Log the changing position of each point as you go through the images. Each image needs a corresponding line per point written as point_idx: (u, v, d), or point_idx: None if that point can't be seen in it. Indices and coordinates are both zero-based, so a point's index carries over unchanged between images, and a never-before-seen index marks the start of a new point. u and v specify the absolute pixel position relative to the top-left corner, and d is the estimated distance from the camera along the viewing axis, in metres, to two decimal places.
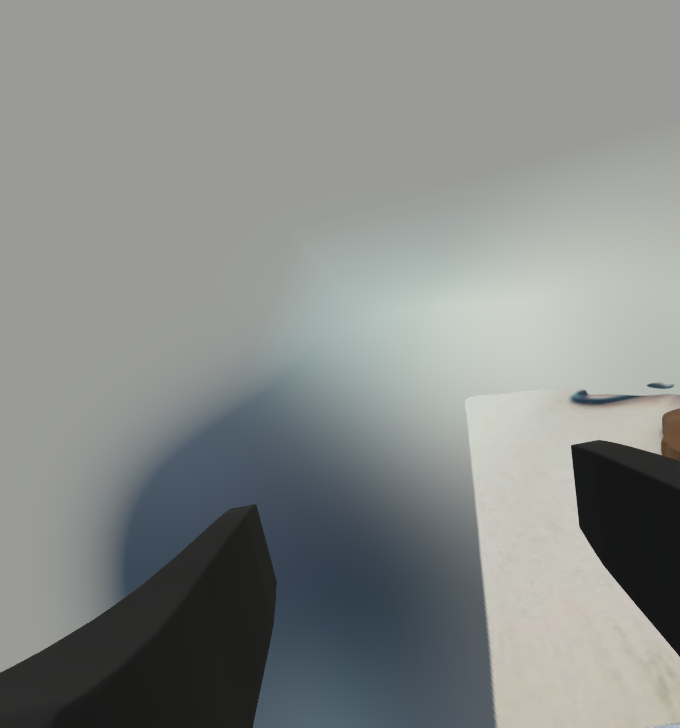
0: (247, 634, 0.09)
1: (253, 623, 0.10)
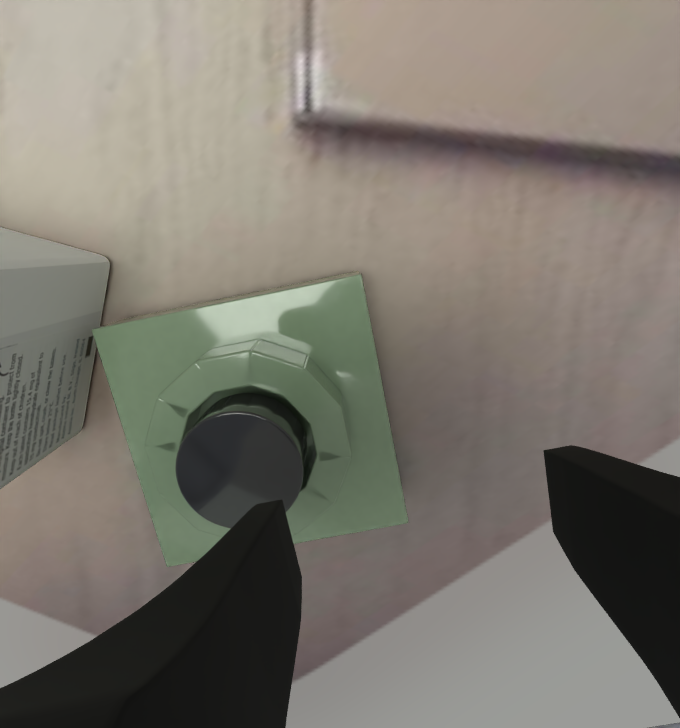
0: (279, 628, 0.09)
1: (283, 618, 0.10)
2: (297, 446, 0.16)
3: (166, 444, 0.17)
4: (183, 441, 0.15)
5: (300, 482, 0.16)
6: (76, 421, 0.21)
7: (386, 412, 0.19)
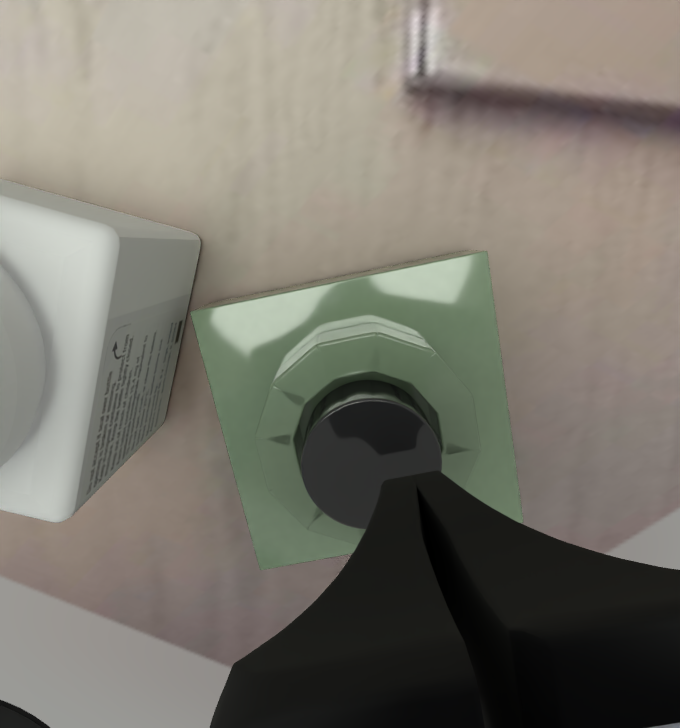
0: None
1: None
2: (436, 437, 0.14)
3: (279, 436, 0.16)
4: (312, 432, 0.14)
5: None
6: (161, 413, 0.19)
7: (506, 402, 0.18)
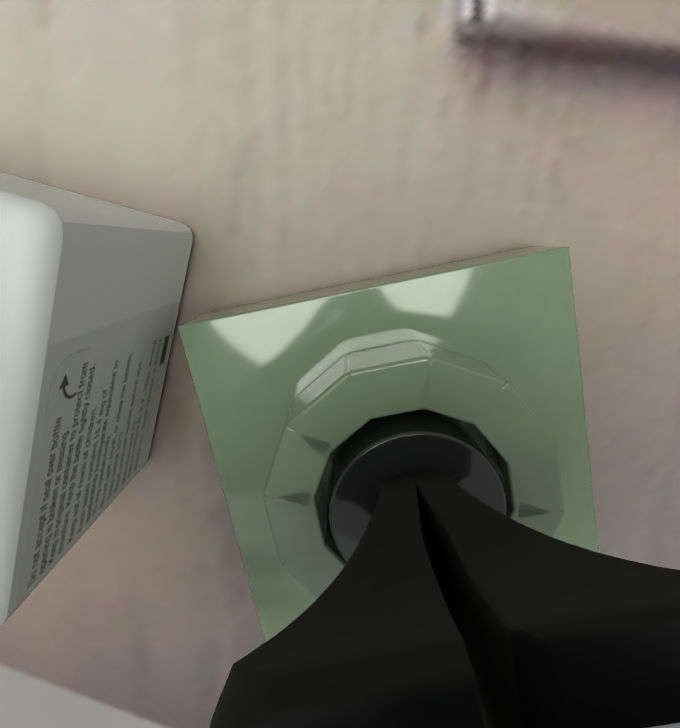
0: None
1: None
2: (500, 480, 0.11)
3: (296, 494, 0.12)
4: (343, 473, 0.11)
5: None
6: (143, 451, 0.15)
7: (586, 442, 0.14)
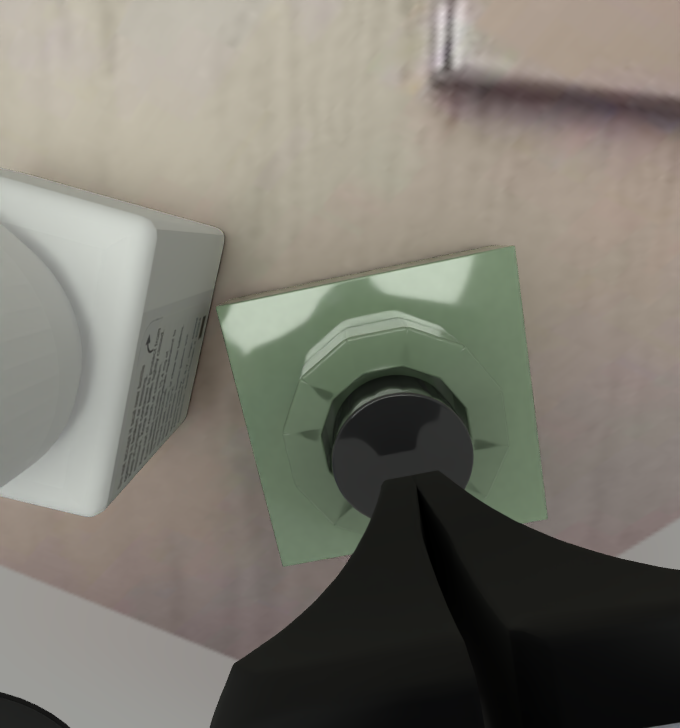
0: None
1: None
2: (468, 432, 0.14)
3: (307, 431, 0.16)
4: (343, 426, 0.14)
5: (470, 472, 0.14)
6: (184, 409, 0.19)
7: (532, 398, 0.18)
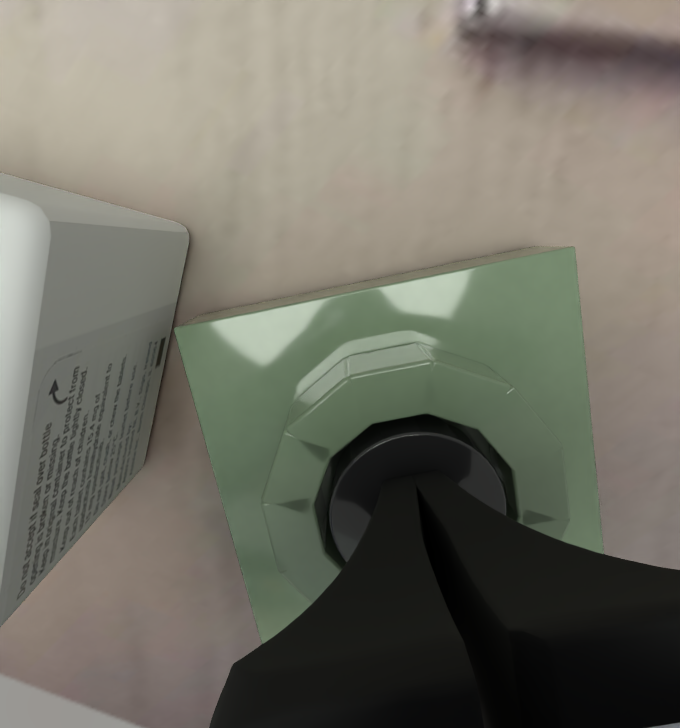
0: None
1: None
2: (500, 480, 0.11)
3: (294, 501, 0.11)
4: (343, 473, 0.11)
5: None
6: (139, 456, 0.15)
7: (592, 447, 0.13)
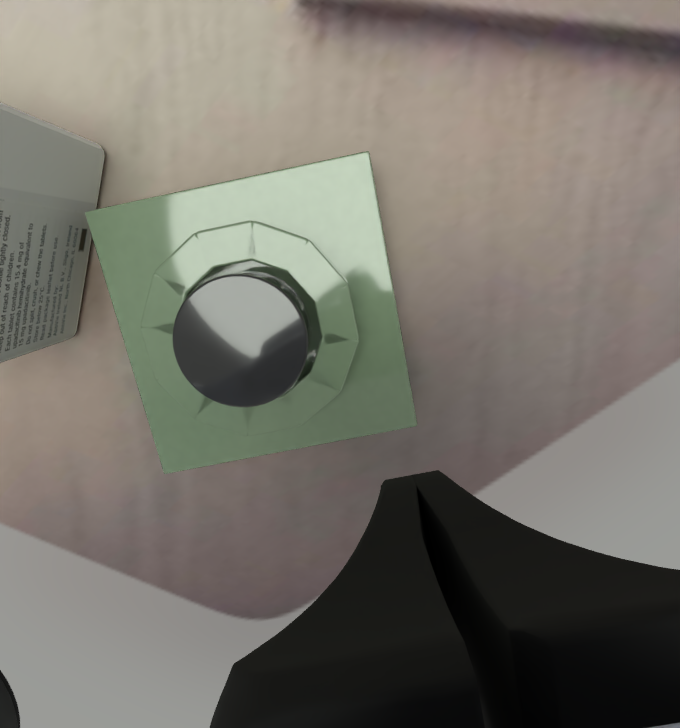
0: None
1: None
2: (302, 315, 0.15)
3: (163, 325, 0.16)
4: (181, 308, 0.15)
5: (305, 354, 0.15)
6: (69, 321, 0.20)
7: (394, 304, 0.18)
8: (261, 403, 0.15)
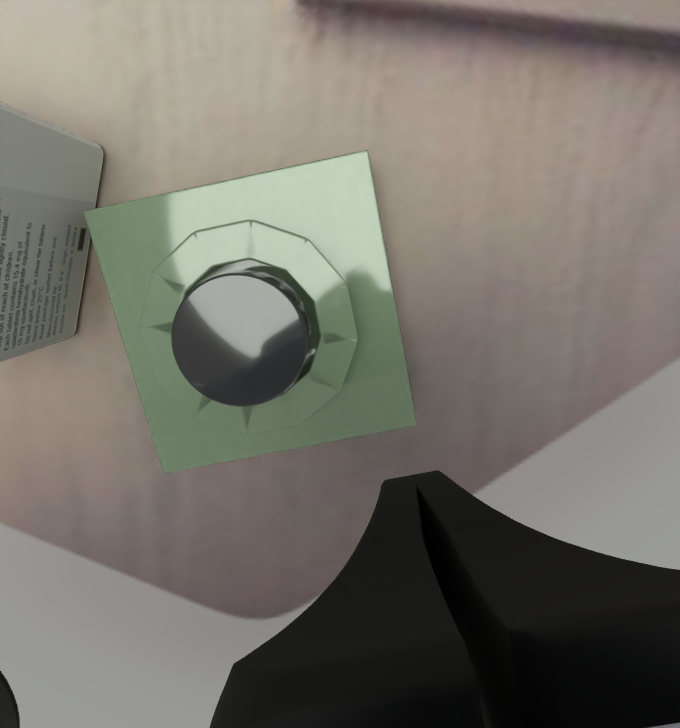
0: None
1: None
2: (300, 314, 0.15)
3: (162, 324, 0.16)
4: (179, 307, 0.15)
5: (304, 353, 0.15)
6: (68, 321, 0.20)
7: (393, 303, 0.18)
8: (260, 402, 0.15)
